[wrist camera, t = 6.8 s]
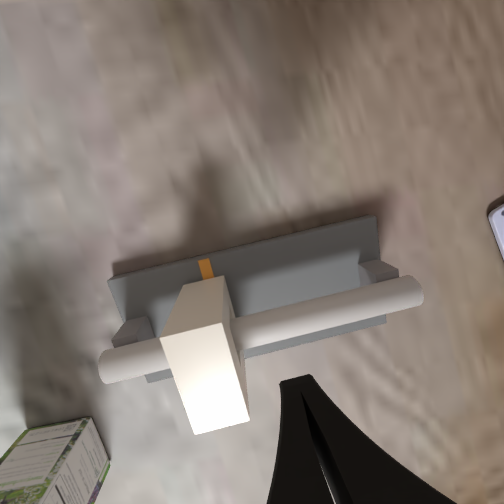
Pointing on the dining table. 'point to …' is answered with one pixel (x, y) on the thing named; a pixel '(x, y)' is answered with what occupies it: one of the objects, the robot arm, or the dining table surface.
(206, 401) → the collar
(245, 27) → the dining table surface
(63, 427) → the syrup box
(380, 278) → the pipe stand
